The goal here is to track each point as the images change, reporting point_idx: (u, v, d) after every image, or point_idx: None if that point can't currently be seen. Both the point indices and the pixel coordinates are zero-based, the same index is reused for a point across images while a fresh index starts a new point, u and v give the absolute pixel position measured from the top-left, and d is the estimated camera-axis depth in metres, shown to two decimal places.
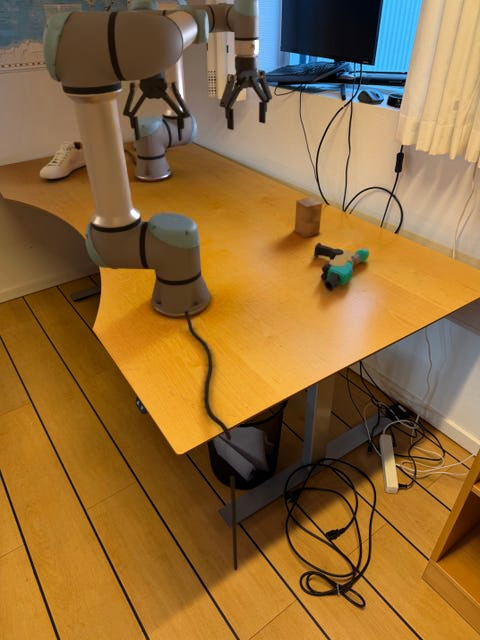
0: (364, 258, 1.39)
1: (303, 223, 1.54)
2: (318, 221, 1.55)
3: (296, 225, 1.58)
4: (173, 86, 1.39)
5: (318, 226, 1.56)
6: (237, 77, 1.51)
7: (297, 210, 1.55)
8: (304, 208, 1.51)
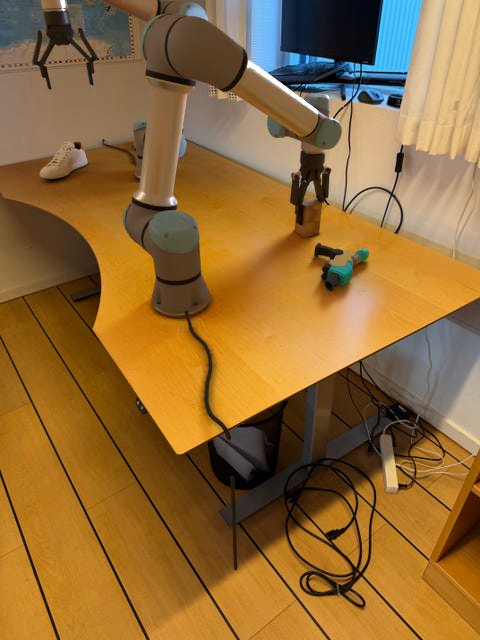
0: (364, 258, 1.39)
1: (303, 223, 1.54)
2: (318, 221, 1.55)
3: (296, 225, 1.58)
4: (329, 171, 1.49)
5: (318, 226, 1.56)
6: None
7: None
8: (304, 208, 1.51)
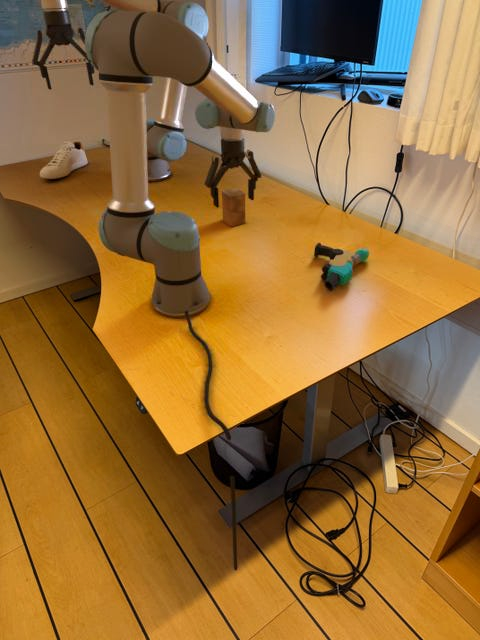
0: (364, 258, 1.39)
1: (228, 213, 1.61)
2: (243, 211, 1.62)
3: (223, 215, 1.65)
4: (251, 154, 1.55)
5: (243, 216, 1.63)
6: None
7: (223, 200, 1.62)
8: (228, 198, 1.58)
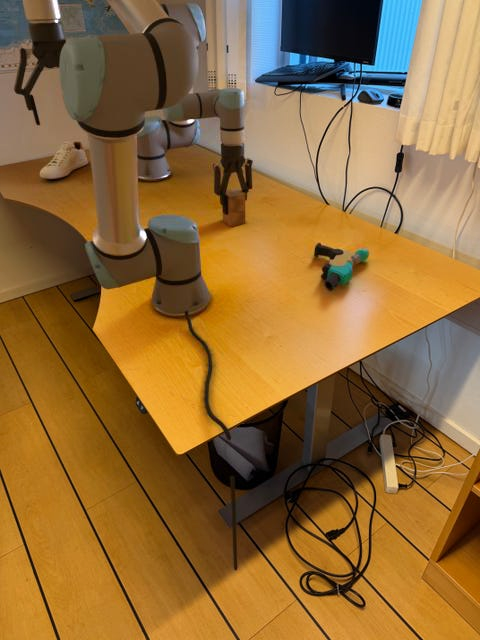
0: (364, 258, 1.39)
1: (228, 213, 1.61)
2: (243, 211, 1.62)
3: (223, 215, 1.65)
4: None
5: (243, 216, 1.63)
6: None
7: None
8: (228, 198, 1.58)
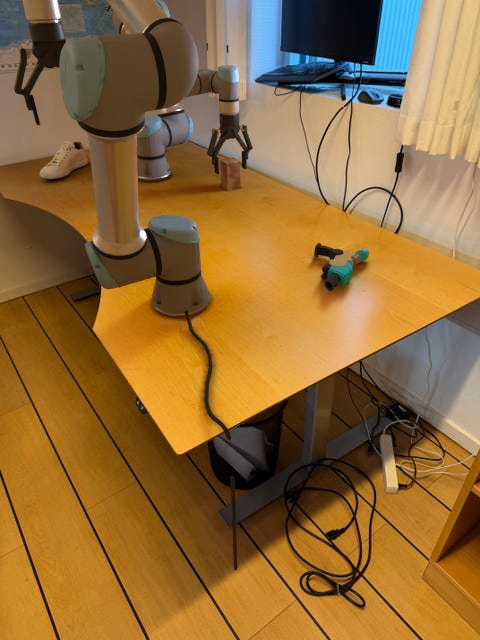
0: (364, 258, 1.39)
1: (226, 178, 1.88)
2: (238, 177, 1.90)
3: (222, 181, 1.93)
4: None
5: (239, 181, 1.91)
6: None
7: (221, 168, 1.90)
8: (225, 165, 1.85)
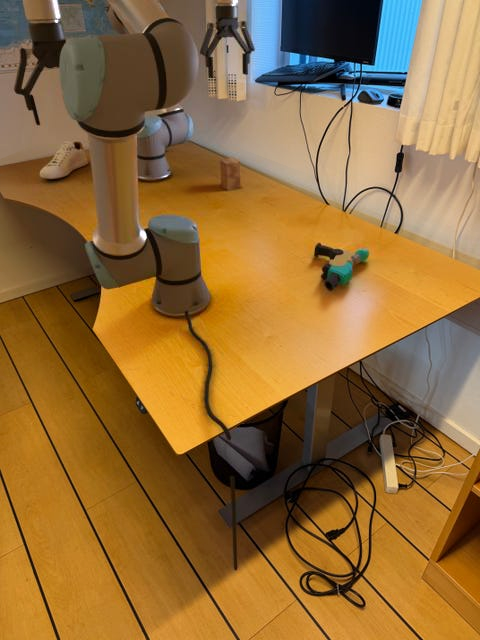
0: (364, 258, 1.39)
1: (226, 178, 1.88)
2: (238, 177, 1.90)
3: (222, 181, 1.93)
4: None
5: (239, 181, 1.91)
6: None
7: (221, 168, 1.90)
8: (225, 165, 1.85)
